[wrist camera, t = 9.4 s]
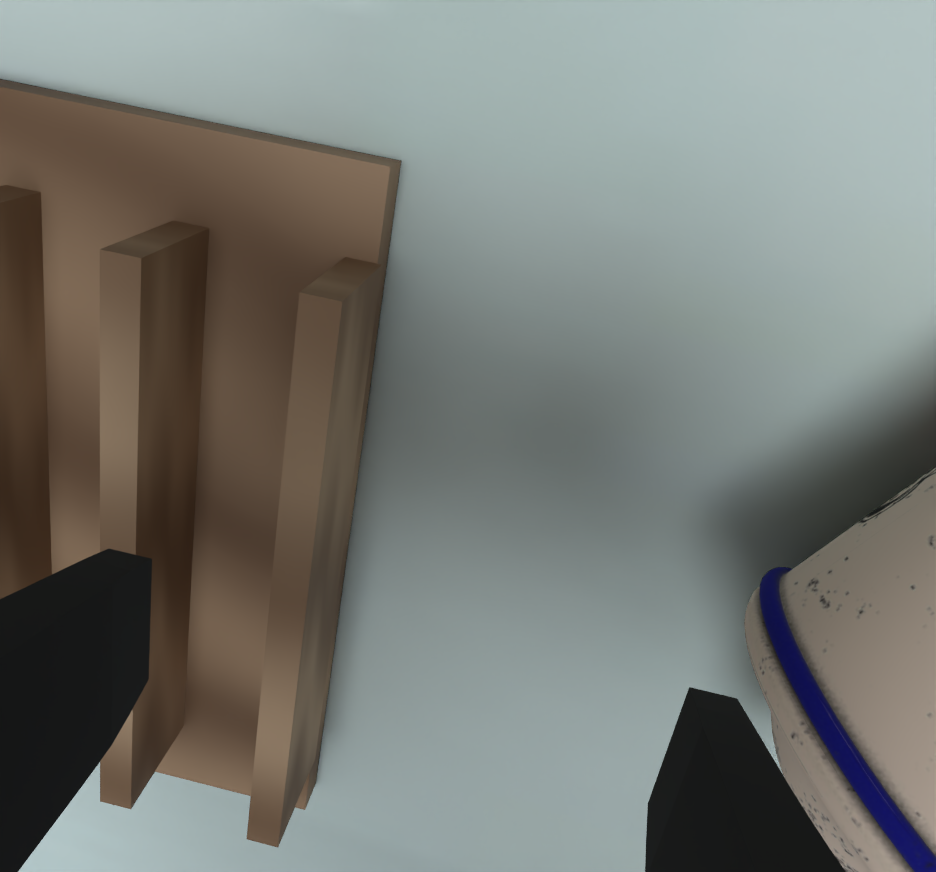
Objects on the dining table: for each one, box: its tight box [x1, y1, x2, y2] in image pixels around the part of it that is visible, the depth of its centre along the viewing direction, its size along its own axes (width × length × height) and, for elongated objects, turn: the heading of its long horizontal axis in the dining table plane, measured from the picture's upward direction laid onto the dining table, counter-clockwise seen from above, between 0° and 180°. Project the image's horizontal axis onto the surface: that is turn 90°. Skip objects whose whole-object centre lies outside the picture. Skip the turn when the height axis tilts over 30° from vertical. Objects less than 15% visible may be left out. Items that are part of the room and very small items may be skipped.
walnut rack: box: [0, 79, 401, 847], centre depth 21 cm, size 18×12×4 cm
